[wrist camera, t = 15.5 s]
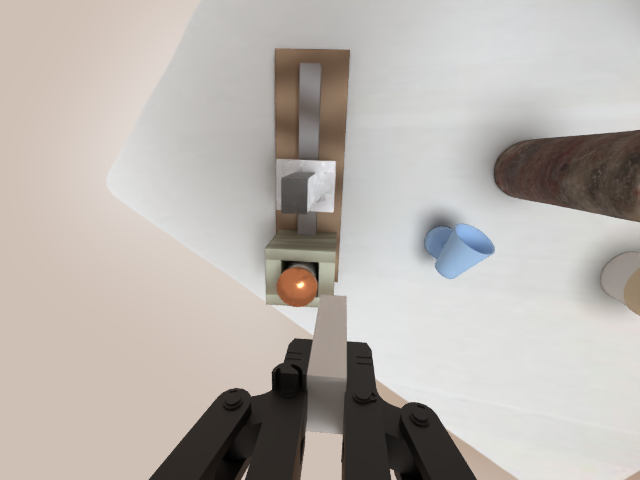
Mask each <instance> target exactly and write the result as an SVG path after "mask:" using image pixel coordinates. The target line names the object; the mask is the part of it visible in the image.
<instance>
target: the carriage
mask: <svg viewBox="0 0 640 480" xmlns="http://www.w3.org/2000/svg"><path fill="white" fill-rule="evenodd" d="M335 175H336V161H327V160H300V159H276V210H281V213H284V214H306V215H307V214H308V212H309V211H313V212H334V196H335Z"/></svg>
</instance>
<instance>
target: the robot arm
mask: <svg viewBox="0 0 640 480" xmlns="http://www.w3.org/2000/svg"><path fill="white" fill-rule="evenodd" d="M306 431H312V432H323V433H333V434H343V443H342V459H341V462H342V480H391V475H390V469H392V470H394V473H395V476H396V479H397V480H477V479H476V477H475V476H474V474H473V472H472V471H471V469H470V468H469V466H468V465H467V463H466V461H465V460H464V458H463V456H462V455H461V453H460V452H459V450H458V448H457V447H456V445H455V444H454V442H453V440H452V439H451V437H450V435H449V434H448V432H447V431H446V429H445V427H444V426H443V424H442V423H441V421H440V419H439V418H438V416H437V415H436V413H435V412H434V411H433V410H432V409H431V408H429V407H428V406H426V405H424V404H421V403H416V402H411V403H408V404H405V405H404V406H403V407H402V409H401V408H398V407H396V406H393V405H391V404H389V403H387V402H386V401H384V400H383V399H382V398H381V397H380V396H379V394H378V392H377V389H376V382H375V374H374V366H373V359H372V351H371V349H370V347H369V346H368V345H367V343H362V342H348V341H347V313H346V296H335V295H321V296H320V302H319V308H318V313H317V319H316V325H315V331H314V337H313V340H310V339H296V338H295V339H294V340H293V341H292V342H291V343H290V344H289V346H288V349H287V353H286V356H285V360H284V363H281V364H279V365H277V366H276V367H275V368H274V369H273V371H272V390H271V391H269V392H267V393H265V394H262V395H257V396H252V397H251V395H250V394H249V393H248V391H246V390H244V389H238V388H234V389H229V390H227V391H225V392H223V393H222V394H221V395H220V396H218V397H217V399H216V400H215V401H214V402H213V403H212V405H211V406H210V407H209V408H208V409H207V411H206V412H205V413H204V414H203V415H202V417H201V418H200V419H199V420H198V422H197V423H196V424H195V425H194V426H193V427H192V429H191V430H190V431H189V432H188V433H187V434H186V436H185V437H184V438H183V439H182V441H181V442H180V443H179V444H178V445H177V446H176V448H175V449H174V450H173V451H172V452H171V454H170V455H169V456H168V457H167V459H166V460H165V461H164V462H163V463H162V464H161V466H160V467H159V468H158V469H157V470H156V472H155V473H154V474H153V475H152V476H151V477H150V479H149V480H241V478H242V477H243V475H244V473H245V471H246V469H247V468H248V466H249V468H248V472H247V475H246V478H245V480H300V477H301V470H302V461H303V455H304V447H305V432H306ZM249 464H250V465H249Z"/></svg>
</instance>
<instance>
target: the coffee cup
mask: <svg viewBox="0 0 640 480" xmlns="http://www.w3.org/2000/svg"><path fill="white" fill-rule="evenodd" d="M600 281H601V286H602V288H603V290H604V291H605V292H606V293H607V294H609V295H610V296H612V297H613V298H615V299H617V300H618V301H620V302H621V303H623V304H624V305H626V306H628V308H629V309H630V310H632V311H633V312H635V313H636V314H638V315H639V316H640V253H638V252H628V253H624V254H621V255H618V256H617V257H615V258H613V259H612V260H611V261H610V262H609V263H608V264H607V265H606V266H605V268H604V269H603V271H602V274H601V279H600Z"/></svg>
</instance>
